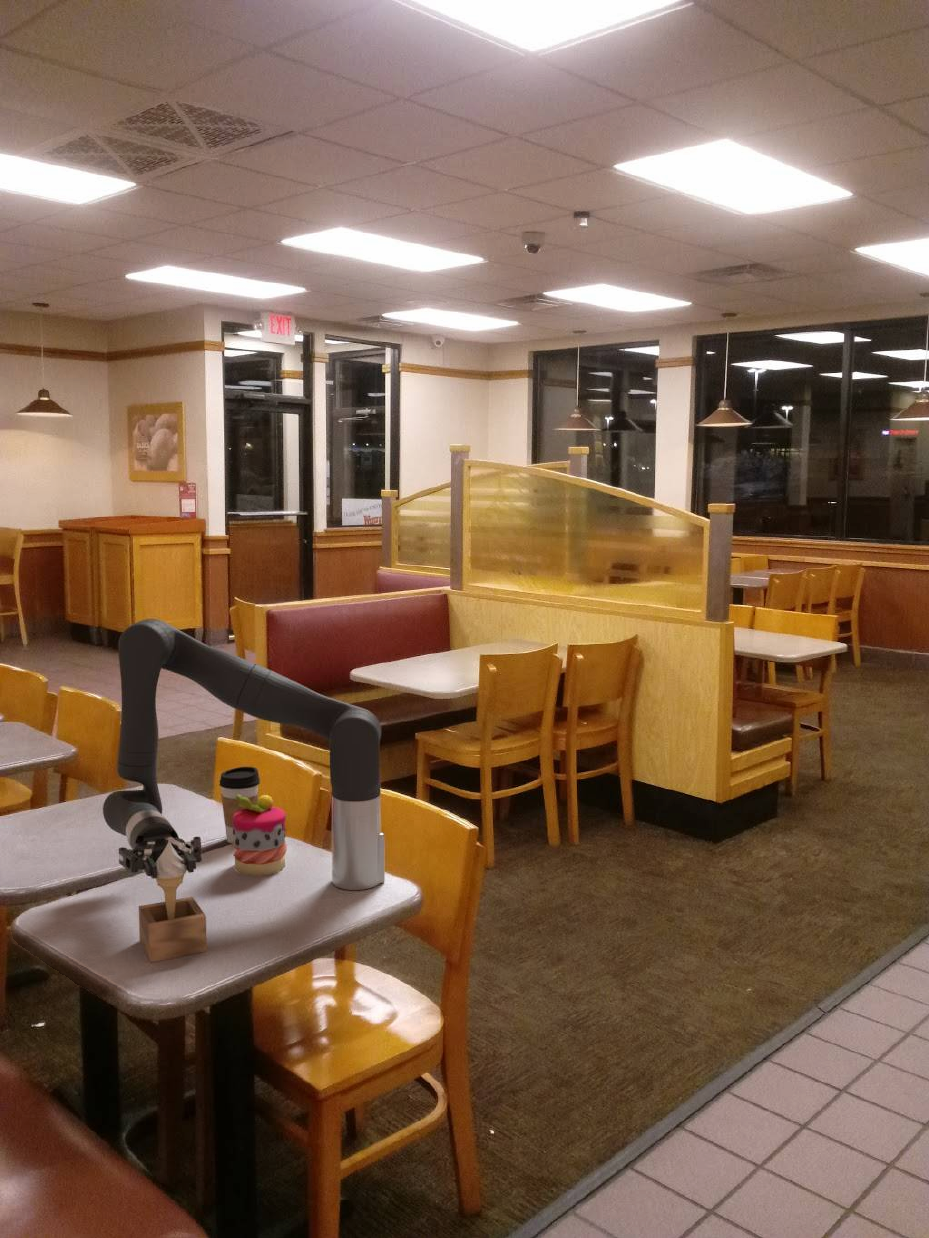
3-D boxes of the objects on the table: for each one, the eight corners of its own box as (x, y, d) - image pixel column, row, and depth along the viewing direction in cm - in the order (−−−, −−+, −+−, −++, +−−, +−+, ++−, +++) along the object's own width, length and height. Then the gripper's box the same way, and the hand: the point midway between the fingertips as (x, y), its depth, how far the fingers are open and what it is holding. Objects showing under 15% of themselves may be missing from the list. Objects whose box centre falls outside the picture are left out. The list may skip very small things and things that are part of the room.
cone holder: (193, 930, 178) (192, 896, 177) (206, 951, 170) (205, 916, 169) (139, 940, 173) (138, 906, 173) (150, 962, 166) (149, 926, 165)
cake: (261, 853, 214) (260, 782, 212) (298, 864, 208) (297, 792, 206) (222, 868, 206) (220, 794, 204) (259, 880, 200) (257, 805, 198)
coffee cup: (268, 839, 223) (267, 771, 221) (235, 849, 216) (234, 779, 214) (245, 830, 228) (244, 763, 226) (212, 839, 222) (211, 771, 220)
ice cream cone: (178, 937, 168) (176, 848, 166) (147, 933, 169) (144, 845, 167) (194, 922, 174) (192, 836, 171) (163, 919, 175) (161, 833, 172)
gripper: (107, 821, 178) (126, 854, 164) (192, 810, 185) (217, 840, 170) (109, 863, 179) (127, 899, 165) (192, 850, 186) (218, 884, 171)
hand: (173, 869), depth 168 cm, fingers closed on ice cream cone, 5 cm apart
